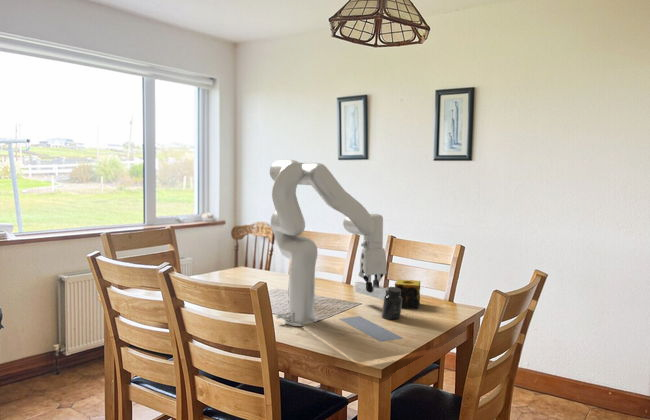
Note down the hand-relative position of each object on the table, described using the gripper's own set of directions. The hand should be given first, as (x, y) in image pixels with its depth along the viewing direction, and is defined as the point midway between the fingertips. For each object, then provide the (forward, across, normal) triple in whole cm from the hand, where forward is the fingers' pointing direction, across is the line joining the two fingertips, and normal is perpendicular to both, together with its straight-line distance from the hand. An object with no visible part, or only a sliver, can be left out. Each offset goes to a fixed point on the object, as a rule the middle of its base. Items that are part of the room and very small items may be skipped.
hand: (372, 290), depth 207 cm
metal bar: (+2, 0, 0) cm, 2 cm away
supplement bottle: (+8, 0, -13) cm, 15 cm away
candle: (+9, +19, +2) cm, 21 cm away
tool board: (+8, -15, -21) cm, 27 cm away
